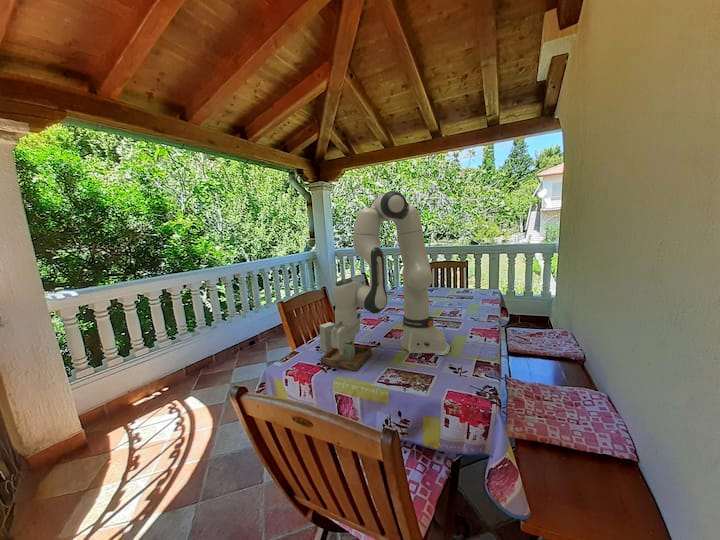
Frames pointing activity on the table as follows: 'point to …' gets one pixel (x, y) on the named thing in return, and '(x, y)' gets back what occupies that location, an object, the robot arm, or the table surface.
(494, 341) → the table surface
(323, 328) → the skincare box
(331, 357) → the walnut tray
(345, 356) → the sage block
